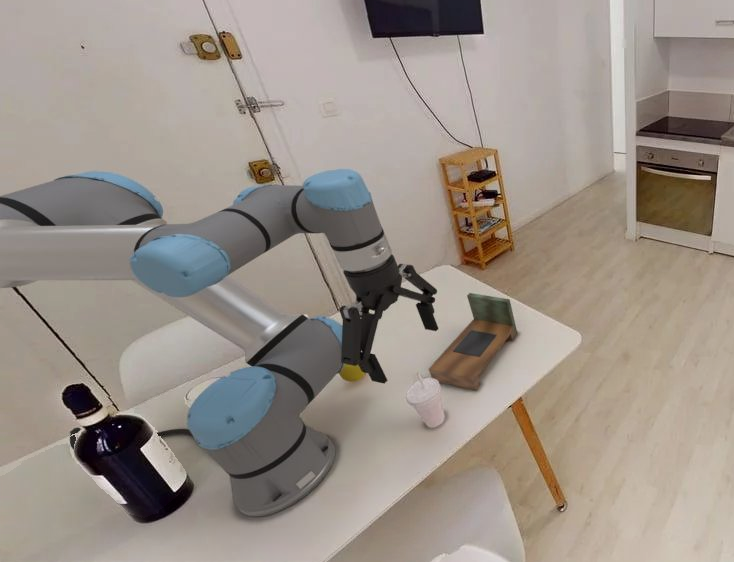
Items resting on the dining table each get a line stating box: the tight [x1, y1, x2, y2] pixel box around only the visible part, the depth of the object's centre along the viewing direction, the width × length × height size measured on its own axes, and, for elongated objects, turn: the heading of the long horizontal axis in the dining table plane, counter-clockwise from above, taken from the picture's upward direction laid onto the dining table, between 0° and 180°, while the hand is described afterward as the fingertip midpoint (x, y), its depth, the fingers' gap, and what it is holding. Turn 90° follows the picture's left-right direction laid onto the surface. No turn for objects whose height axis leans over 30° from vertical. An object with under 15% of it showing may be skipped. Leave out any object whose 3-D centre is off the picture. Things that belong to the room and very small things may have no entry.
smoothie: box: [405, 371, 446, 429], centre depth 85 cm, size 6×6×14 cm
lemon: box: [338, 364, 367, 383], centre depth 97 cm, size 6×6×8 cm
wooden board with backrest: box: [428, 292, 518, 391], centre depth 102 cm, size 12×19×12 cm, turn 165°
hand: (407, 353), depth 79 cm, fingers open, 13 cm apart
